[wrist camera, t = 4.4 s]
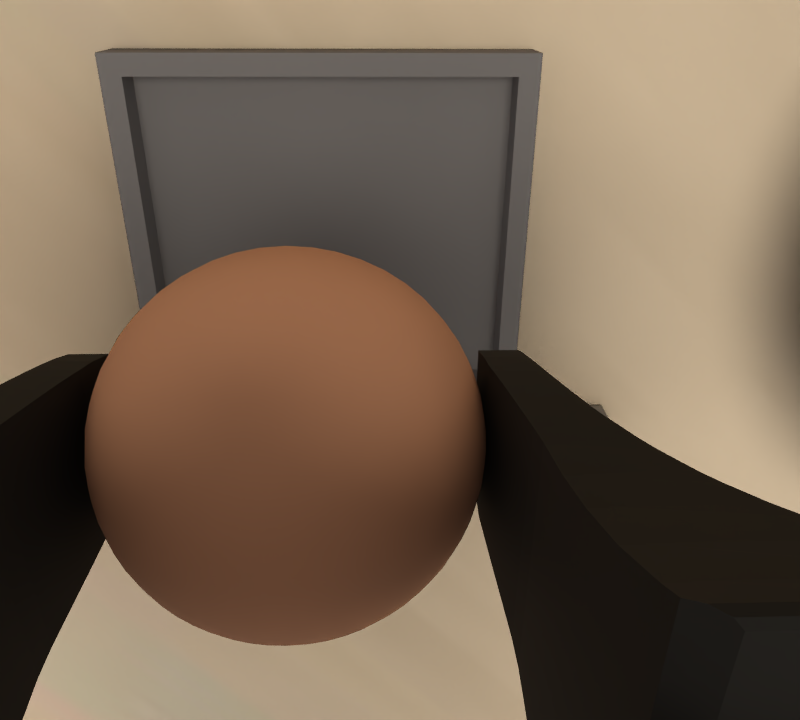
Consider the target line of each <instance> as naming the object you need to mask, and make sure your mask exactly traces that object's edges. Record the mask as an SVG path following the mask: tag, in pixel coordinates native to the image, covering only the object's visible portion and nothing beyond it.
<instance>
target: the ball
mask: <svg viewBox="0 0 800 720" xmlns="http://www.w3.org/2000/svg"><path fill="white" fill-rule="evenodd" d="M485 456H486V427H485V419H484V412H483V406H482V400H481V394H480V391H479V388H478V385H477V382H476V379H475V376H474V373H473V371H472V368H471V366H470V363H469V361H468V359H467V357H466V355H465V353H464V351H463V349H462V347H461V345H460V343H459V341H458V340H457V338H456V337H455V335H454V334H453V333H452V331H451V330H450V328H449V327H448V325H447V324H446V323H445V321H444V320H443V319H442V318H441V316H440V315H439V314H438V313H437V312H436V311H435V310H434V309H433V308H432V307H431V306H430V304H429V303H428V302H427V301H426V300H425V299H424V298H423V297H422V296H420V295H419V294H418V293H417V292H416V291H414V290H413V289H412V288H411V287H409V286H408V285H407V284H406V283H404V282H403V281H401V280H400V279H398V278H396V277H395V276H393V275H391V274H390V273H388V272H387V271H385V270H383V269H381V268H379V267H377V266H374V265H372V264H370V263H368V262H366V261H363V260H361V259H358V258H355V257H352V256H349V255H345V254H342V253H339V252H336V251H330V250H325V249H319V248H314V247H298V246H276V247H262V248H256V249H251V250H246V251H241V252H236V253H233V254H230V255H227V256H224V257H221V258H218V259H215V260H212V261H210V262H208V263H206V264H204V265H202V266H200V267H198V268H196V269H194V270H192V271H190V272H188V273H186V274H185V275H183V276H181V277H179V278H178V279H177V280H175V281H174V282H172V283H171V284H169V285H168V286H166V287H165V288H164V289H162V290H161V291H160V292H159V293H157V294H156V295H155V296H154V297H153V298H152V299H151V300H150V301H149V302H148V303H147V304H146V305H145V306H144V307H143V308H142V309H141V310H140V311H139V312H138V313H137V314H136V315H135V316H134V317H133V318H132V320H131V321H130V322H129V323H128V325H127V326H126V327H125V329H124V330H123V331H122V332H121V334H120V335H119V336H118V338H117V340H116V342H115V344H114V345H113V347H112V349H111V351H110V353H109V355H108V356H107V358H106V360H105V362H104V364H103V366H102V367H101V369H100V372H99V375H98V378H97V380H96V383H95V386H94V389H93V392H92V396H91V400H90V403H89V408H88V413H87V419H86V425H85V473H86V479H87V485H88V490H89V494H90V499H91V503H92V506H93V509H94V512H95V515H96V518H97V521H98V524H99V526H100V528H101V530H102V532H103V534H104V536H105V538H106V540H107V542H108V544H109V546H110V547H111V549H112V551H113V553H114V555H115V556H116V558H117V559H118V560H119V562H120V563H121V565H122V566H123V568H124V569H125V571H126V572H127V573H128V574H129V575H130V576H131V577H132V578H133V579H134V581H135V582H136V583H137V584H138V585H139V586H140V587H141V588H142V589H143V590H144V591H145V592H146V593H147V594H148V595H149V596H151V597H152V598H153V599H154V600H155V601H156V602H158V603H159V604H160V605H161V606H162V607H164V608H165V609H167V610H168V611H170V612H171V613H172V614H174V615H175V616H177V617H179V618H181V619H182V620H184V621H186V622H188V623H190V624H192V625H193V626H196V627H198V628H201V629H203V630H205V631H208V632H210V633H213V634H216V635H219V636H223V637H226V638H229V639H232V640H237V641H242V642H247V643H253V644H261V645H281V646H286V645H302V644H311V643H317V642H323V641H328V640H332V639H335V638H339V637H343V636H346V635H349V634H351V633H354V632H356V631H359V630H362V629H364V628H366V627H368V626H370V625H372V624H373V623H375V622H377V621H379V620H381V619H383V618H385V617H387V616H388V615H390V614H392V613H393V612H395V611H396V610H398V609H399V608H401V607H402V606H404V605H405V604H406V603H407V602H408V601H410V600H411V599H412V598H413V597H414V596H416V595H417V594H418V593H419V592H420V591H421V590H422V589H423V588H424V587H425V586H426V585H427V584H428V583H429V582H430V581H431V580H432V579H433V578H434V577H435V576H436V575H437V573H438V572H439V571H440V570H441V569H442V568H443V566H444V565H445V563H446V562H447V560H448V559H449V558H450V556H451V555H452V553H453V552H454V550H455V548H456V547H457V545H458V544H459V542H460V540H461V539H462V537H463V535H464V533H465V531H466V529H467V527H468V524H469V522H470V520H471V517H472V514H473V511H474V509H475V506H476V502H477V499H478V496H479V493H480V490H481V486H482V479H483V473H484V466H485Z"/></svg>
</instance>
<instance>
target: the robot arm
mask: <svg viewBox="0 0 800 720" xmlns="http://www.w3.org/2000/svg"><path fill="white" fill-rule="evenodd" d="M107 356H108V354H68V355H65V356H62V357H59V358H56V359H53V360H51V361H48V362H46V363H44V364H42V365H39V366H37V367H35V368H33V369H31V370H29V371H27V372H25V373H23V374H21V375H19V376H17V377H15V378H13V379H11V380H9V381H7V382H5V383H3V384H1V385H0V720H22V719H23V717H24V714H25V711H26V709H27V706H28V703H29V700H30V698H31V695H32V692H33V690H34V687H35V684H36V682H37V679H38V676H39V674H40V672H41V670H42V667H43V665H44V663H45V661H46V659H47V656H48V654H49V652H50V650H51V647H52V645H53V643H54V641H55V639H56V637H57V635H58V633H59V631H60V629H61V627H62V625H63V623H64V621H65V619H66V617H67V615H68V613H69V611H70V609H71V607H72V605H73V603H74V601H75V599H76V597H77V595H78V593H79V591H80V589H81V587H82V585H83V583H84V581H85V579H86V577H87V575H88V573H89V571H90V569H91V567H92V565H93V563H94V561H95V559H96V557H97V555H98V553H99V551H100V549H101V547H102V545H103V543H104V541H105V539H106V538H105V536H104V534H103V532H102V530H101V528H100V526H99V524H98V521H97V518H96V515H95V512H94V509H93V506H92V503H91V499H90V494H89V490H88V485H87V479H86V473H85V425H86V419H87V413H88V408H89V403H90V400H91V396H92V392H93V389H94V386H95V383H96V380H97V378H98V375H99V372H100V369H101V367H102V366H103V364H104V362H105V360H106V358H107ZM477 385H478V388H479V391H480V394H481V400H482V406H483V412H484V419H485V427H486V456H485V466H484V473H483V479H482V486H481V490H480V493H479V496H478V499H477V506H478V513H479V518H480V522H481V526H482V529H483V533H484V537H485V541H486V544H487V548H488V552H489V556H490V559H491V563H492V567H493V570H494V574H495V578H496V581H497V585H498V589H499V592H500V596H501V600H502V603H503V607H504V611H505V614H506V618H507V622H508V625H509V629H510V633H511V636H512V640H513V645H514V649H515V654H516V658H517V663H518V668H519V674H520V680H521V686H522V692H523V698H524V704H525V711H526V717H527V720H800V514H798V513H795V512H793V511H790V510H787V509H785V508H782V507H779V506H777V505H774V504H772V503H769V502H767V501H764V500H762V499H760V498H757V497H755V496H753V495H750V494H748V493H746V492H743V491H741V490H739V489H736V488H734V487H732V486H729V485H727V484H725V483H722V482H720V481H718V480H716V479H714V478H712V477H710V476H707V475H705V474H703V473H701V472H699V471H697V470H695V469H693V468H691V467H689V466H688V465H686V464H684V463H682V462H680V461H678V460H676V459H674V458H673V457H671V456H669V455H667V454H665V453H663V452H661V451H660V450H658V449H656V448H654V447H653V446H651V445H649V444H648V443H646V442H644V441H642V440H641V439H639V438H638V437H636V436H634V435H633V434H631V433H630V432H628V431H627V430H625V429H624V428H622V427H621V426H619V425H618V424H616V423H615V422H613V421H612V420H610V419H609V418H607V417H606V416H604V415H603V414H601V413H600V412H599V411H597V410H596V409H594V408H593V407H592V406H590V405H589V404H588V403H586V402H585V401H583V400H582V399H581V398H580V397H578V396H577V395H576V394H574V393H573V392H572V391H570V390H569V389H568V388H567V387H565V386H564V385H563V384H561V383H560V382H559V381H558V380H556V379H555V378H554V377H553V376H551V375H550V374H549V373H548V372H546V371H545V370H544V369H543V368H542V367H540V366H539V365H538V364H537V363H535V362H534V361H533V360H532V359H530V358H529V357H528V356H526V355H525V354H524V353H522V352H521V351H519V350H478V366H477Z"/></svg>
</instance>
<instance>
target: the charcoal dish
mask: <svg viewBox="0 0 800 720" xmlns="http://www.w3.org/2000/svg"><path fill="white" fill-rule="evenodd" d="M95 57H96V62H97V68H98V74H99V79H100V85H101V91H102V97H103V102H104V108H105V114H106V119H107V125H108V131H109V136H110V142H111V148H112V153H113V159H114V165H115V170H116V176H117V182H118V188H119V193H120V199H121V205H122V210H123V216H124V222H125V227H126V233H127V239H128V244H129V250H130V256H131V261H132V267H133V273H134V279H135V284H136V290H137V296H138V301H139V307H140V310H141V309H142V308H143V307H144V306H145V305H146V304H147V303H148V302H149V301H150V300H151V299H152V298H153V297H154V296H155V295H156V294H157V293H159V292H160V291H161V290H162V289H164V288H165V287H166V286H168V285H169V284H171V283H172V282H174V281H175V280H177V279H178V278H179V277H181V276H183V275H185V274H186V273H188V272H190V271H192V270H194V269H196V268H198V267H200V266H202V265H204V264H206V263H208V262H210V261H212V260H215V259H218V258H221V257H224V256H227V255H230V254H233V253H236V252H241V251H246V250H251V249H256V248H262V247H276V246H298V247H314V248H319V249H325V250H330V251H336V252H339V253H342V254H345V255H349V256H352V257H355V258H358V259H361V260H363V261H366V262H368V263H370V264H372V265H374V266H377V267H379V268H381V269H383V270H385V271H387V272H388V273H390V274H391V275H393V276H395V277H396V278H398V279H400V280H401V281H403V282H404V283H406V284H407V285H408V286H409V287H411V288H412V289H413V290H414V291H416V292H417V293H418V294H419V295H420V296H422V297H423V298H424V299H425V300H426V301H427V302H428V303H429V304H430V306H431V307H432V308H433V309H434V310H435V311H436V312H437V313H438V314H439V315H440V316H441V318H442V319H443V320H444V321H445V323H446V324H447V325H448V327H449V328H450V330H451V331H452V333H453V334H454V335H455V337H456V338H457V340H458V341H459V343H460V345H461V347H462V349H463V351H464V353H465V355H466V357H467V359H468V361H469V363H470V366H471V368H472V371H473V373H474V376H475V379H476V382H477V366H478V350H517V343H518V331H519V320H520V308H521V297H522V285H523V274H524V263H525V251H526V240H527V228H528V217H529V205H530V194H531V183H532V171H533V160H534V148H535V137H536V125H537V114H538V103H539V91H540V80H541V68H542V57H543V53H541V52H538V51H535V50H533V49H108V50H104V51H99V52H95Z"/></svg>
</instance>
